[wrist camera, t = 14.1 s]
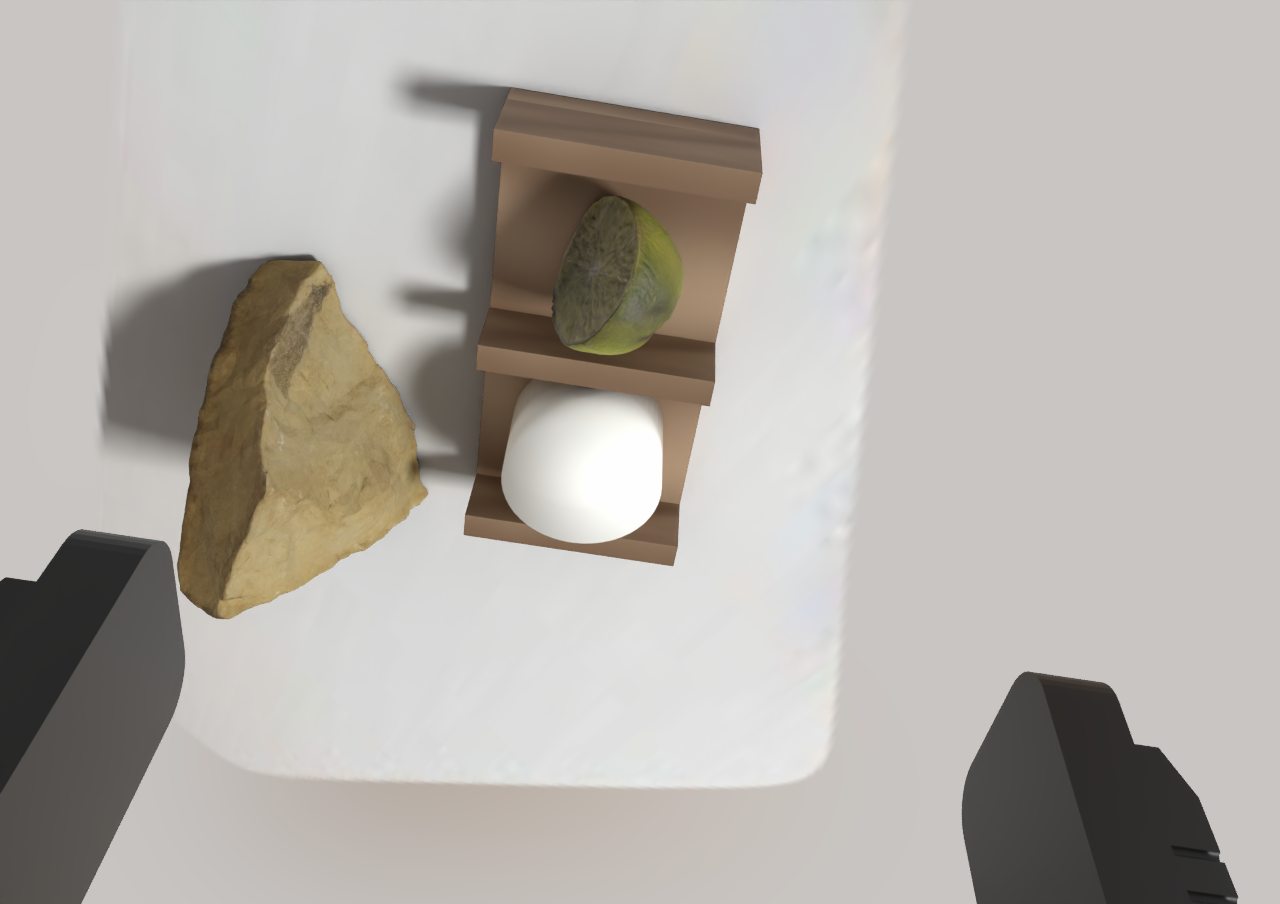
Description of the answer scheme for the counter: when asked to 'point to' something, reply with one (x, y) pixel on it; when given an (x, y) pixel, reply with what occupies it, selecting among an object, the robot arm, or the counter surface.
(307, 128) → the counter surface
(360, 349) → the rock
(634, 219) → the lime
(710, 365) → the rack
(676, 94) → the counter surface
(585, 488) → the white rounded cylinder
